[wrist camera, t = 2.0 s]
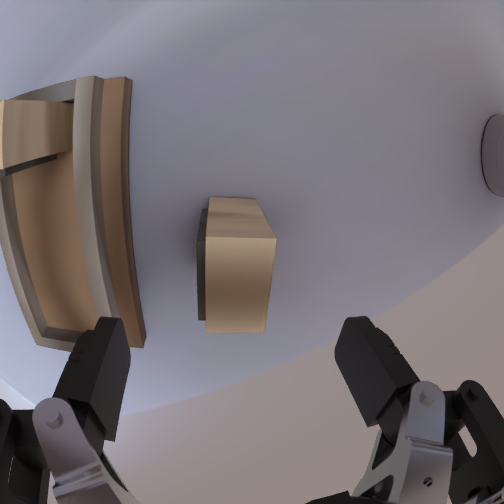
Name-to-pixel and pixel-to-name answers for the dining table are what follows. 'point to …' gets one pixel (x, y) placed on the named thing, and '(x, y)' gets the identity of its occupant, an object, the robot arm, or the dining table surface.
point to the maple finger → (234, 266)
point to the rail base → (69, 209)
